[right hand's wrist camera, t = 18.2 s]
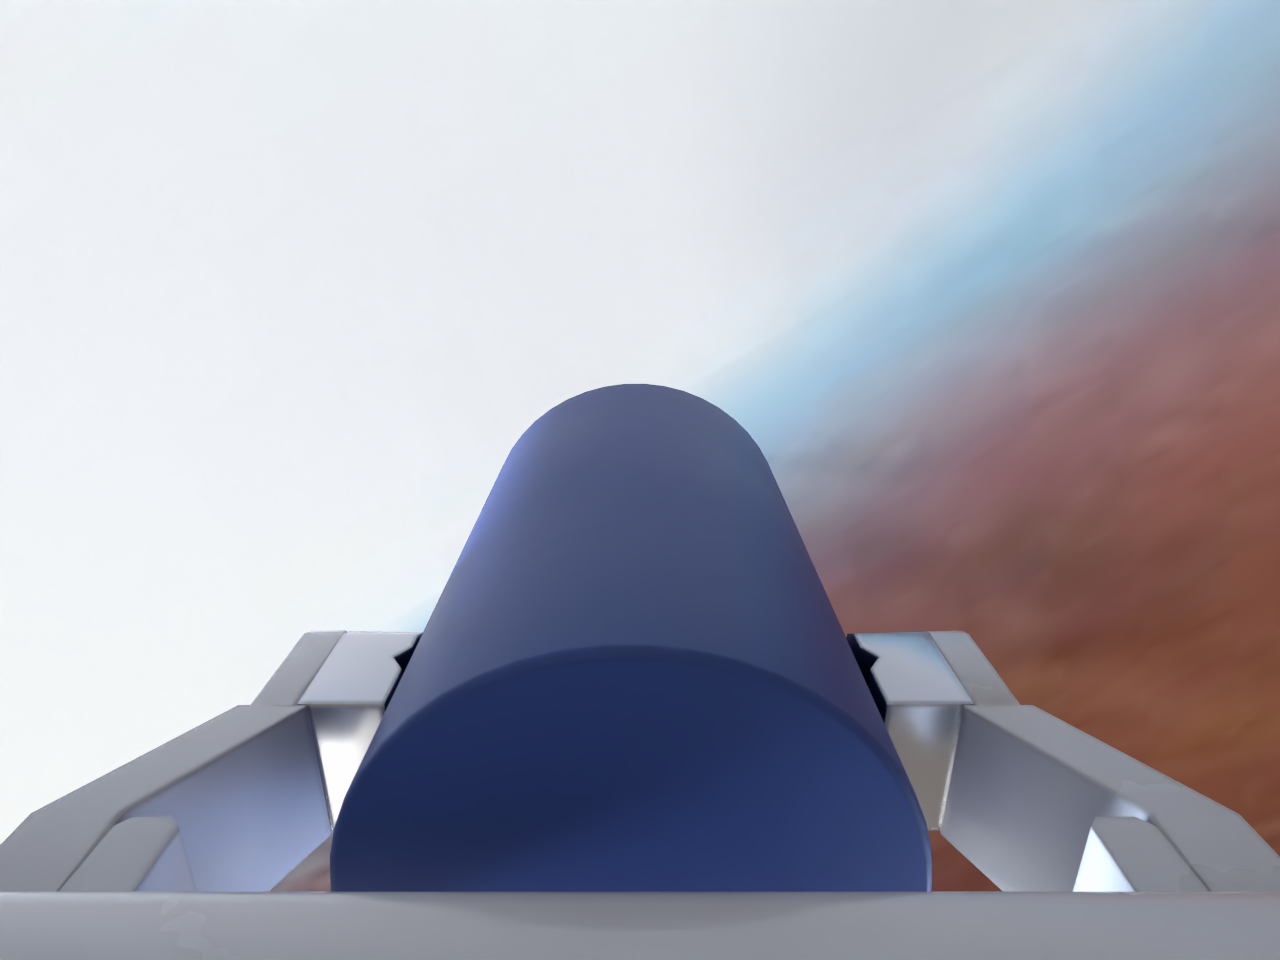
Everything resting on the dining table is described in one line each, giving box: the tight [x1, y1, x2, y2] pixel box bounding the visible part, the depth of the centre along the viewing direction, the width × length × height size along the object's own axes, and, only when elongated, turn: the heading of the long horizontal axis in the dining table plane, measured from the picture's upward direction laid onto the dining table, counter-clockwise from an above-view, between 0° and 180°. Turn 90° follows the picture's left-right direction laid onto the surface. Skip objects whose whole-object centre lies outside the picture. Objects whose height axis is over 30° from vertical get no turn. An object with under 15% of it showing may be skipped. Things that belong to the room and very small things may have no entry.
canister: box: [330, 384, 932, 892], centre depth 11 cm, size 6×6×8 cm
